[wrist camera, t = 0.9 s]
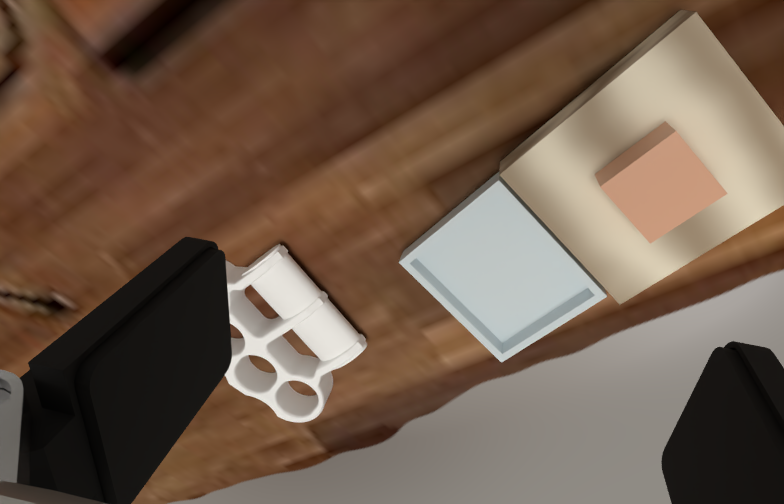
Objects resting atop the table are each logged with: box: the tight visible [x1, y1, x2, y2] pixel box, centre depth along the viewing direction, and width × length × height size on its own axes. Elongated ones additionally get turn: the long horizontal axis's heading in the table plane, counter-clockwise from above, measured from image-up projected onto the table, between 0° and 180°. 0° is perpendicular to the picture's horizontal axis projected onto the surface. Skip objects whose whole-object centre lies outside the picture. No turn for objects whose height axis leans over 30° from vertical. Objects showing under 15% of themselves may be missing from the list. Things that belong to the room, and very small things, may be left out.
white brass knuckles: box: [225, 244, 367, 422], centre depth 48 cm, size 3×18×15 cm
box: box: [399, 171, 607, 362], centre depth 41 cm, size 10×12×2 cm
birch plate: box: [499, 10, 784, 304], centre depth 35 cm, size 14×13×3 cm
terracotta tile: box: [595, 121, 728, 244], centre depth 33 cm, size 5×5×2 cm
